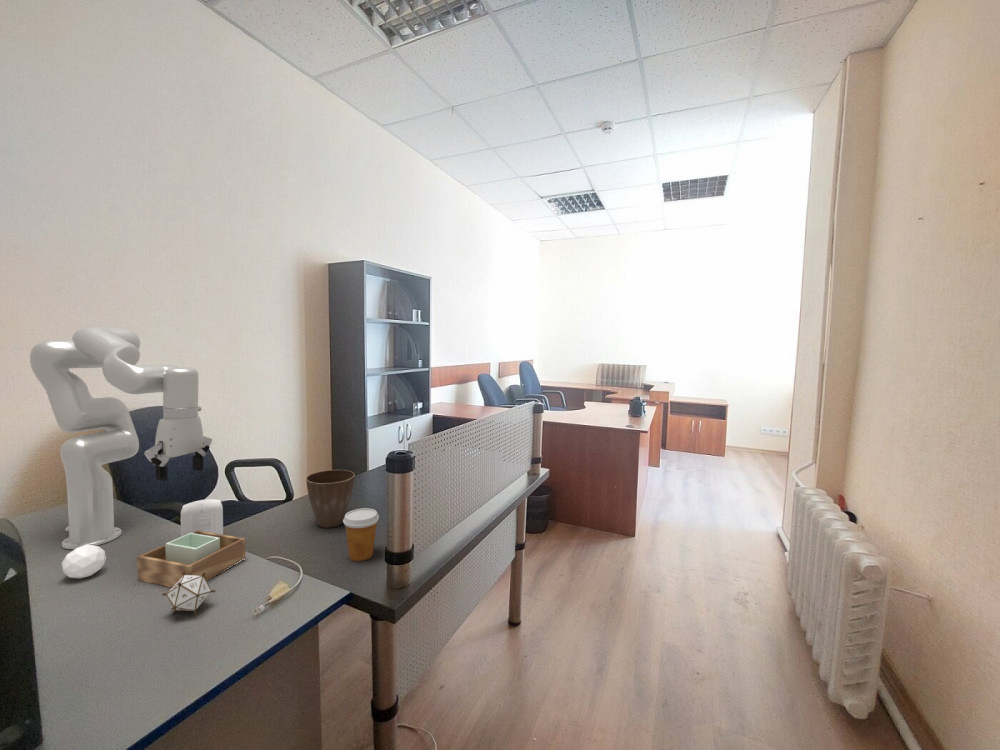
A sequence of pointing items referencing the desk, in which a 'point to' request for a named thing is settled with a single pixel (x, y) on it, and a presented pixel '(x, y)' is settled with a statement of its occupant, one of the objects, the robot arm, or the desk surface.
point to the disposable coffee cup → (361, 532)
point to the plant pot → (330, 495)
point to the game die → (189, 592)
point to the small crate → (191, 548)
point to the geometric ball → (83, 561)
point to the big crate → (168, 572)
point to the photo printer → (202, 517)
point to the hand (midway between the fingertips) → (180, 474)
